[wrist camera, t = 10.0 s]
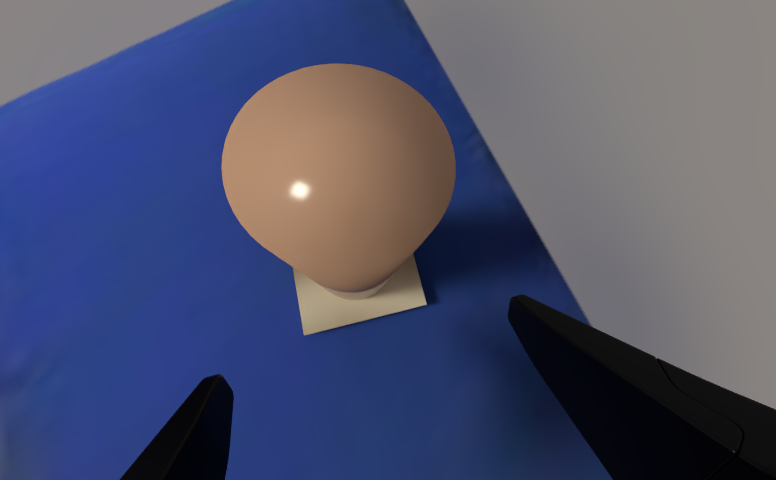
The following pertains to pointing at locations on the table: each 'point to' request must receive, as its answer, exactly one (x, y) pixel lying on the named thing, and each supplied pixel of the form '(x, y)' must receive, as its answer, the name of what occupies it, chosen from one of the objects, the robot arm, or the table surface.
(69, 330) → the table surface
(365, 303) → the coaster
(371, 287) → the tan rounded cylinder
